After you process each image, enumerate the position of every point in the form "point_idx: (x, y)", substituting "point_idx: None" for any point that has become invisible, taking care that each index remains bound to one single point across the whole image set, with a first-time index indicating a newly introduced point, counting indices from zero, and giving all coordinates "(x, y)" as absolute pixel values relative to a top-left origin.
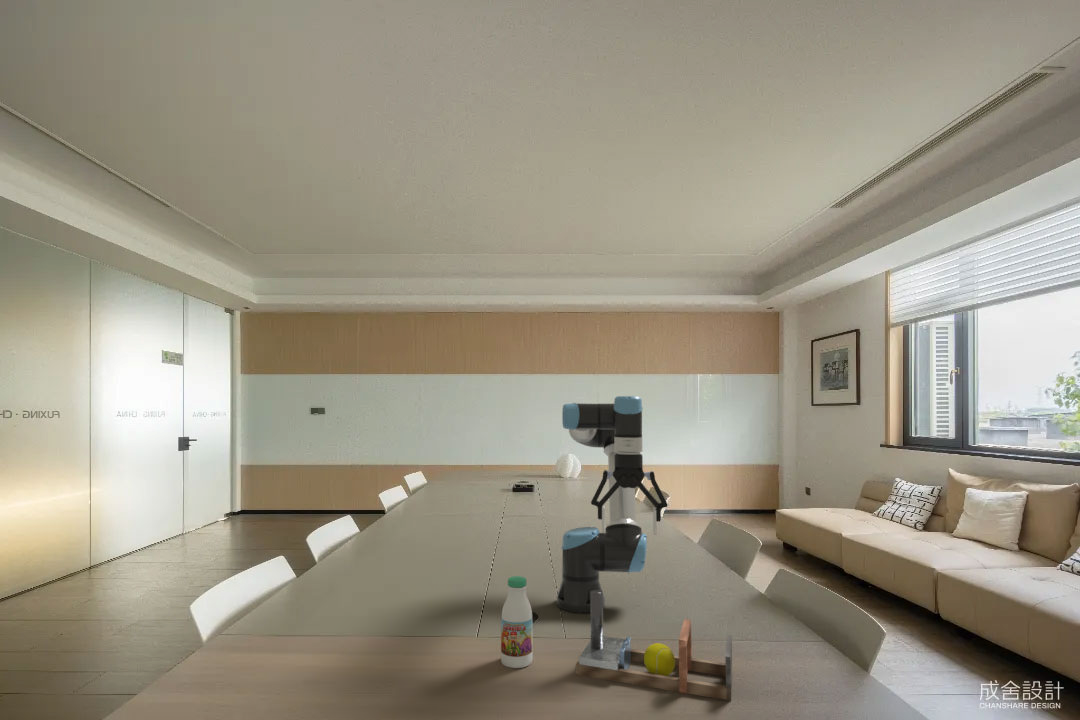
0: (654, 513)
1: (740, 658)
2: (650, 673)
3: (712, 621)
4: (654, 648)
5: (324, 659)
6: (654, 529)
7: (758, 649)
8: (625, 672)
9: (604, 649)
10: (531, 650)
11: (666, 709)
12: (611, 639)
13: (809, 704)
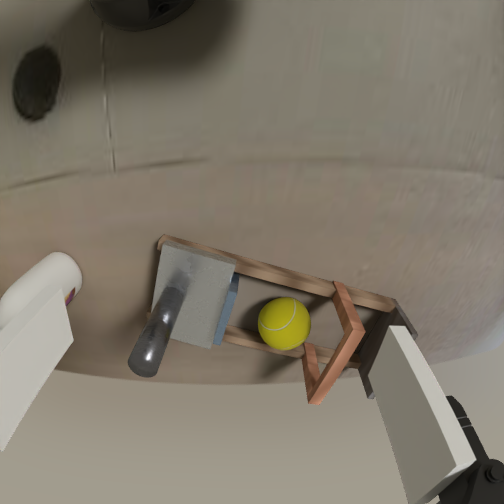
0: (410, 483)
1: (432, 244)
2: (263, 344)
3: (442, 74)
4: (275, 344)
5: None
6: (381, 397)
7: (471, 209)
8: (224, 340)
9: (186, 306)
10: (74, 289)
11: (272, 380)
12: (199, 265)
13: (438, 353)
